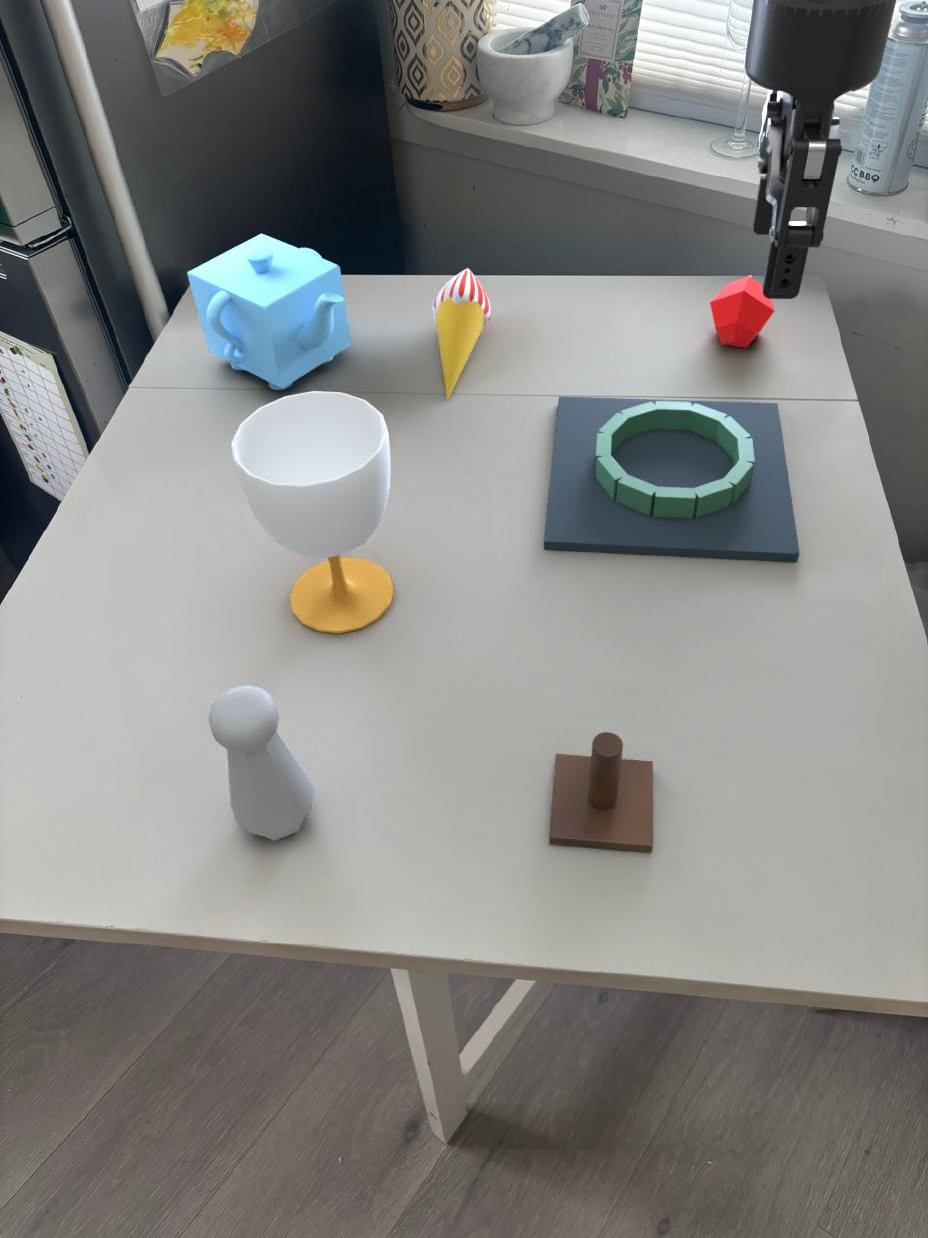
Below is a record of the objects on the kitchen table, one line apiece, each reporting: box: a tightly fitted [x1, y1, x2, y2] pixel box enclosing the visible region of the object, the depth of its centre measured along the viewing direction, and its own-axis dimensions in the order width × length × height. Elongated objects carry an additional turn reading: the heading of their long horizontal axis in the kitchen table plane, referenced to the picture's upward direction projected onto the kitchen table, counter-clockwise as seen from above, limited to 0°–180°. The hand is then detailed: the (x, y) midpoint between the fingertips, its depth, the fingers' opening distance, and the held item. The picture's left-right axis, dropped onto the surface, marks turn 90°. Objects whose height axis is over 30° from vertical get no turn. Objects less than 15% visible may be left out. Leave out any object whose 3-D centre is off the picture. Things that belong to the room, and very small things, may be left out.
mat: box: [543, 395, 800, 563], centre depth 94 cm, size 22×22×1 cm
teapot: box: [186, 233, 352, 391], centre depth 105 cm, size 18×16×13 cm
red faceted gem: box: [709, 274, 775, 349], centre depth 108 cm, size 7×7×8 cm
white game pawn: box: [208, 685, 315, 842], centre depth 67 cm, size 6×6×13 cm
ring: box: [595, 401, 755, 519], centre depth 93 cm, size 14×14×2 cm
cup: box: [230, 390, 395, 634], centre depth 80 cm, size 12×12×17 cm
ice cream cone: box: [431, 267, 492, 402], centre depth 109 cm, size 6×6×20 cm
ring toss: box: [548, 731, 654, 854], centre depth 68 cm, size 7×7×8 cm
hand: (773, 262), depth 66 cm, fingers open, 8 cm apart
